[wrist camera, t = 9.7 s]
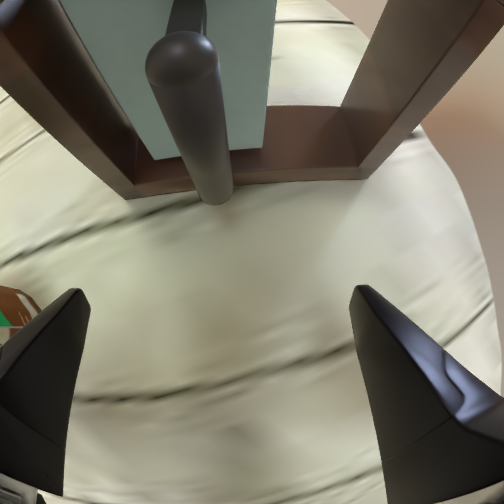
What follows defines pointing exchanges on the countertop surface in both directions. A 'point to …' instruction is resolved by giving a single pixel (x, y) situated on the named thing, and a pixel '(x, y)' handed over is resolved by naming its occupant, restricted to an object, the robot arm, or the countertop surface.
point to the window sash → (185, 76)
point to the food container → (15, 312)
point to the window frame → (277, 117)
